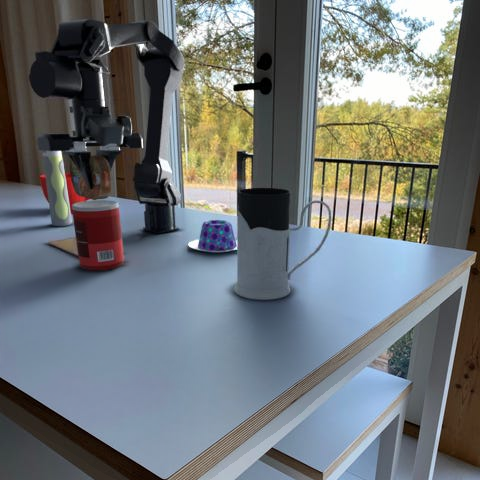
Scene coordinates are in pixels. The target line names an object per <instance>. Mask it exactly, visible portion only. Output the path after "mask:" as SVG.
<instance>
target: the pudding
mask: <svg viewBox="0 0 480 480" xmlns="http://www.w3.org/2000/svg"><path fill="white" fill-rule="evenodd" d="M232 224H233V223H232V222H230V221H228V220H221V219H211V220H210V219H209V220H206V221H204V222H203V223H202V225H201V229H200V233H199V238H197V239H193V240H191V241H190V242H188V243H187V244H188V247H189V248H191V249H193V250H197V251H201V252H206V253H228V252H232V251H236V250H237V238H236V236H235V233H234V232H235V231H234V227H233V225H232Z"/></svg>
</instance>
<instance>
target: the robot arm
mask: <svg viewBox="0 0 480 480" xmlns="http://www.w3.org/2000/svg"><path fill="white" fill-rule="evenodd" d="M147 44H151V45H152V46H153V48H152V47H151V48H149V49H148V48H147V46H146V45H147ZM126 46H127V47H128V46H134V47H135V53H136V59H137V60H138V61H139V63H140V64H141V65H142V67H143V74H144V75H143V76H144V78H145V80H146V83H147V85H148V87H149V101H148V110H147V111H148V112H147V113H148V114H147V125H146V126H147V127H146V135H145V136H146V137H145V148H144V143H143V140H144V139H143V137H142V135H141V134H140V133H139V132H132V131H133V125H132V120H131V119H132V118H131V117H130V116H129V115H117V117H111V112H110V109H109V106H106V105H105V93H104V87H103V86H104V84H103V75H109V74H110V70H109V69H108V67H107V66H106V65H104V63H103V62H102V61H101V59H98V58H101V57H102V56H104V55H106V54H108V53H110V52H111V50H113V49H114V48H119V47H126ZM34 54H35V60H34V61H33V62H32V64H31V66H30V70H29V74H28V80H29V85H30V87H31V89H32V91H33V93H34V94H35V95H37V97H39V98H42V99H58V100H71V106H68V107H69V113H70V114H72V115H73V123H74V124H73V125H74V130H72V131H71V133H72V136H71V135H70V133H61V132H60V133H57V132H56V133H55V132H54V133H53V132H52V133H39V135H38V137H37V140H36V142H37V147H38V150H39V151H42V150H44V151H61V152H62V155H67V156H68V157H69V159H70V160H72V161H73V163H74V164H75V166H76V167H77V169H78V171H79V172H80V174H81V176H82V178H83V180H84V182H85V183H86V185H87V187H88V189H90V190H92V189H93V181H92V175H91V168H90V161H89V160H90V156H91V155H92V152H91V151H87V147H88V148H89V147H99V149H96V150H95V151H96V152H95V153H96V155H101V156H103V157H104V158H105V159H106V160H107V162H108V164H109V167H110V174H111V172H112V169H113V165H114V163H115V161H116V159H117V158H118V156H119V155H120V154H122V155H123V154H124V150H121V149H120V148H128V149H143V148H144V149H145V150H144V157H143V159H142V160H141V162H136V163H135V164H134V167H133V169H134V170H133V178H132V182H133V189H134V191H135V194H136V197H137V200H138V203H139V205H144V209H145V210H144V212H143V218H144V219H143V220H144V226H143V227H142V229H143V230H144V231H147V232H150V233H155V234H162V233H163V234H164V233H169V232H175V231H179V230H181V229H180V227H179V226H177V224H176V210H175V208H176V206H178V205H180V204H181V198H182V194H181V192H180V191H179V189H178V188H177V186H176V185H175V183H174V182H173V180H174V179H173V178H174V175H173V174H174V173H173V171H172V168H171V167H170V164H169V162H168V153H169V141H170V130H171V129H170V128H171V120H172V109H173V108H172V107H173V95H174V93H175V92H176V90H177V88H178V87H179V86H180V84H181V82H182V80H183V79H182V78H183V74H184V69H185V57H184V55H183V54H182V52H181V50H180V49H179V47H178V46H177V44H176V43H175V41H174V40H173V39H172V38H170V37H168V36H167V35H166V34H165V33H164V32H162V31H161V30H160V29H159V27H158V26H157V24H156V23H155V22H154V21H151V20H149V19H147V20H137V21H132V22H130V23H120V24H119V23H118V24H108V23H106V22H104V21H102V20H98V19H93V18H87V19H75V20H70V21H69V20H66V21H63V22H61V23H59V25H58V29H57V35H56V38H55V39H54V42H53V45H52V47H51V49H50V51H45V50H43V51H42V50H41V51H35V53H34ZM95 58H97V59H95ZM87 138H88V139H87ZM86 139H87V140H86Z"/></svg>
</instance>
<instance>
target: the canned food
mask: <svg viewBox="0 0 480 480" xmlns="http://www.w3.org/2000/svg"><path fill="white" fill-rule="evenodd" d="M72 212H73V213H72V222H73V227H74V235H75V238H76V242H77V249H78V256H79V257H78V256H77V257H78V262H79V264H80V267H81V268H82V269H84V270H87V271H107V270H114V269H116V268H119V267H120V266H122V265H124V260H125V257H124V245H123V236H122V235H123V234H122V225H121V224H122V223H121V216H120V215H121V214H120V207H119V202H118V201H116V200H115V201H114V200H108V199H107V200H105V199H97V200H87V201H84V202H78V203H75V204H73V205H72Z"/></svg>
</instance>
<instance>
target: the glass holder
mask: <svg viewBox="0 0 480 480" xmlns="http://www.w3.org/2000/svg"><path fill="white" fill-rule="evenodd" d="M291 193H292V191H291V190H288V189H284V188H277V187H250V188H243V189H240V190H238V206H236V209H237V210H236V213H237V214H236V216H237V217H236V221H237V223H236V227H237V228H236V230H237V231H236V232H237V233H236V234H237V235H236V239H237V251H236V255H237V256H236V265H237V266H236V269H237V271H236V278H237V279H236V284H235V286H234V288H233V289H234V290H233V291H234V293H235V294H236V295H238V296H240V297H243V298H247V299H249V300H258V301H259V300H262V301H265V300H266V301H267V300H277V299H281V298H284V297H286V296H288V295H289V294H290V293H291V287H290V285H289V281H290V280H291V275H292V274H293V273H294V272H295V271H296V270H297V269H298V268H300V267H301V266H302V265H304V264H306V263H307V262H308V261H309V260H310V259H311V258H312V257H314V256H315V255H316V254H317V253H318V252H319V251H320V250H321V248H322V247H323V245H324V244H325V242H326V240H327V238H328V236H329V233H330V230H331V223H332V210H331V208H330V206H329V205H328V204H327V203H326V202H325V201H322V200H317V199H315V200H311V201H309V202H308V203H306V204H305V205H304V206H303V207H302V210H301V212H300V219H299V225H297V226H296V227H291V226H290V218H291V217H290V215H291V195H292V194H291ZM313 204H321V205H323V206H324V207H326V209H327V211H328V219H327V225H326V226H327V227H326V230H325V233H324V235H323V238H322V239H321V241H320V243H319V244H318V246H317V247H316V248H315V250H313V251H312V252H311V253H310V254H309V255H308V256H306V257H305V258H304V259H303V260H301V261H300V262H299V263H297V264H296V265H295V266H293V268H291V269H290V270H289V264H290V245H291V244H290V241H291V231H292V232H293V231H298V230H300V229H301V228H302V227H303V223H304V216H305V213H306V211H307V209H308V208H309V207H310V206H311V205H313Z"/></svg>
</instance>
